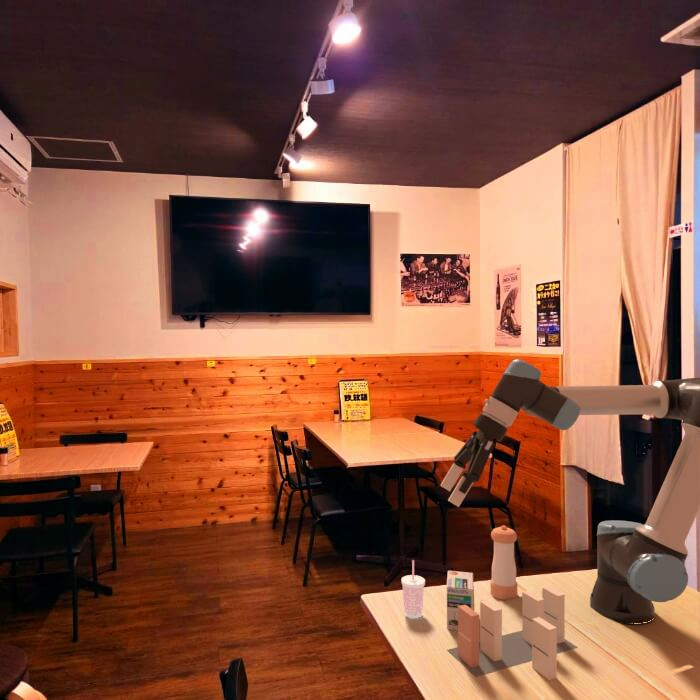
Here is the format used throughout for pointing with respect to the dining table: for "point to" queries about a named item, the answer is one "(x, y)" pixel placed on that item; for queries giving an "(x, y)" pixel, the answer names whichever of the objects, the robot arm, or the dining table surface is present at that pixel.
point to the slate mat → (507, 654)
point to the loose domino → (544, 648)
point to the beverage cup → (413, 594)
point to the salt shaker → (503, 564)
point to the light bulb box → (458, 595)
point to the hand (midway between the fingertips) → (448, 495)
